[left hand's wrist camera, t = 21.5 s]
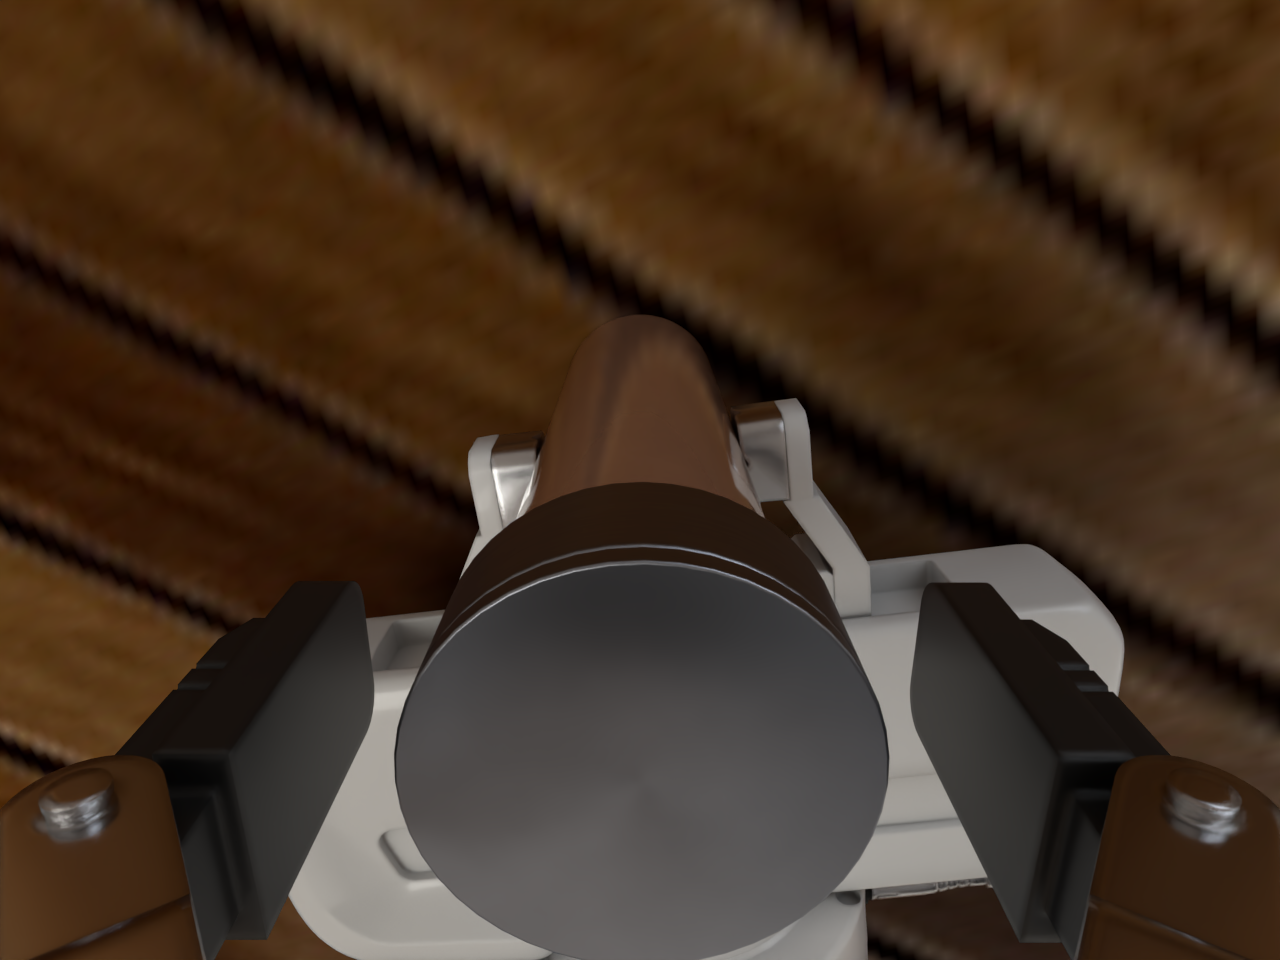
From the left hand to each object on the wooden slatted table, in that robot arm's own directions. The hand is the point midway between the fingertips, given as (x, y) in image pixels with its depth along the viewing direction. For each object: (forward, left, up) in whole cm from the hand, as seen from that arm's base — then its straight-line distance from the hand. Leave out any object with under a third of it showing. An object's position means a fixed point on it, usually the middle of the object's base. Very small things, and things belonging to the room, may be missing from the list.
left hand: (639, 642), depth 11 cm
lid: (0, 0, +2) cm, 2 cm away
